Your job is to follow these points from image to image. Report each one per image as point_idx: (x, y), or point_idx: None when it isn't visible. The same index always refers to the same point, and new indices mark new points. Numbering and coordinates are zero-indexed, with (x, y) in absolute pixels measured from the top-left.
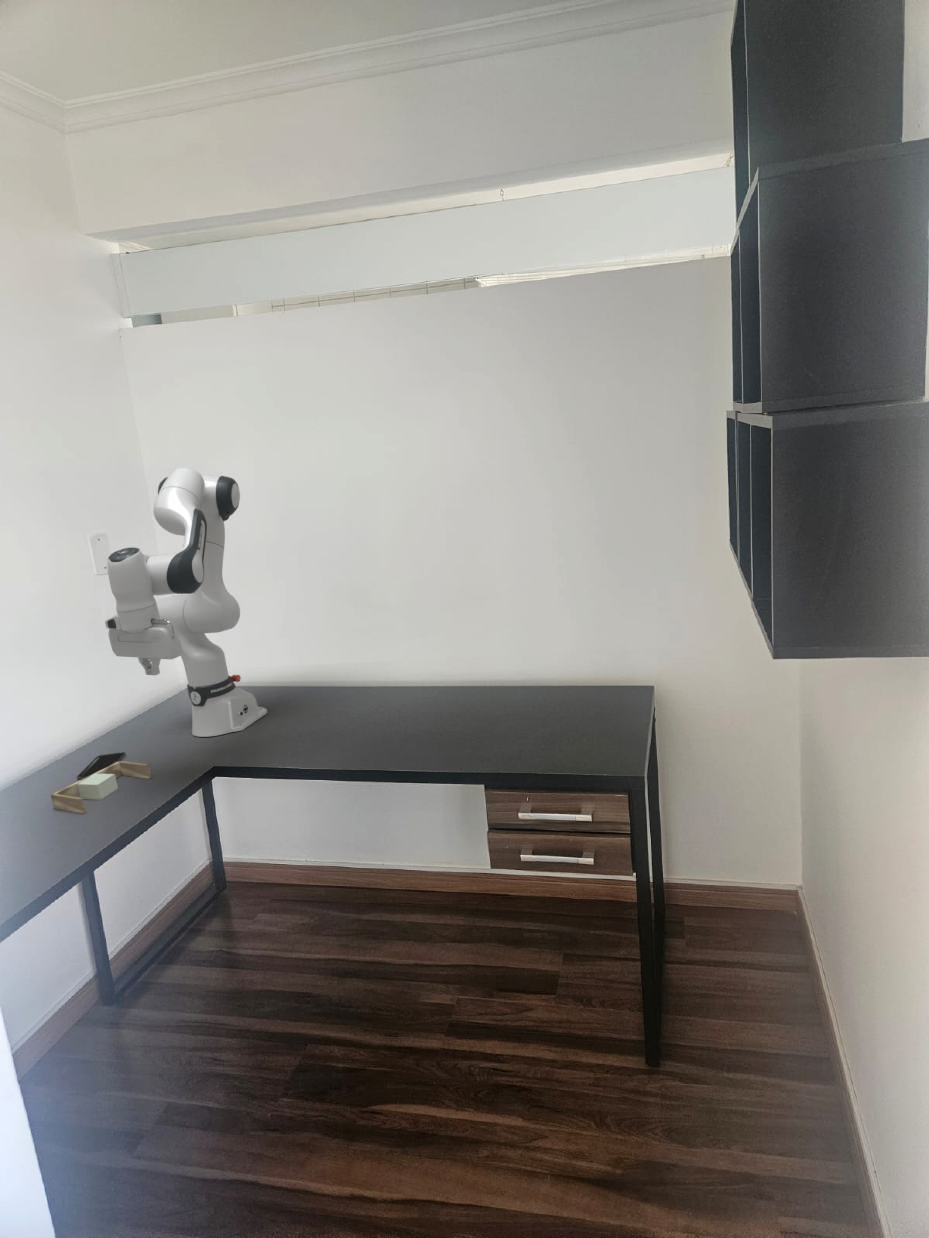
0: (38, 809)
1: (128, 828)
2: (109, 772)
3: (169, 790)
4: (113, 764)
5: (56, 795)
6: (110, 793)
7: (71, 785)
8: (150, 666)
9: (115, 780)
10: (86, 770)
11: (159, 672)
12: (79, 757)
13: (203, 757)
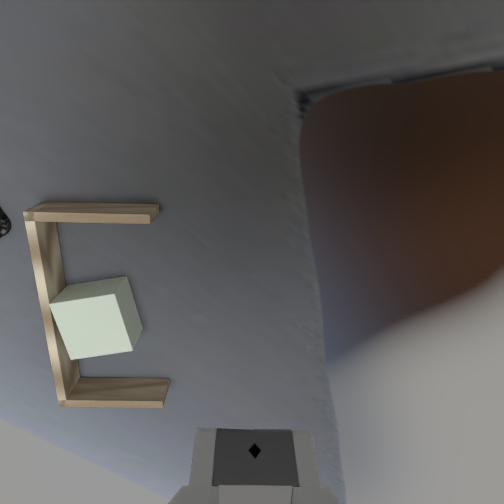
0: (40, 392)
1: (332, 404)
2: (48, 254)
3: (282, 255)
4: (31, 237)
5: (78, 405)
6: (134, 301)
7: (56, 361)
8: (213, 496)
9: (120, 288)
10: None
11: (311, 436)
12: None
13: (203, 36)
